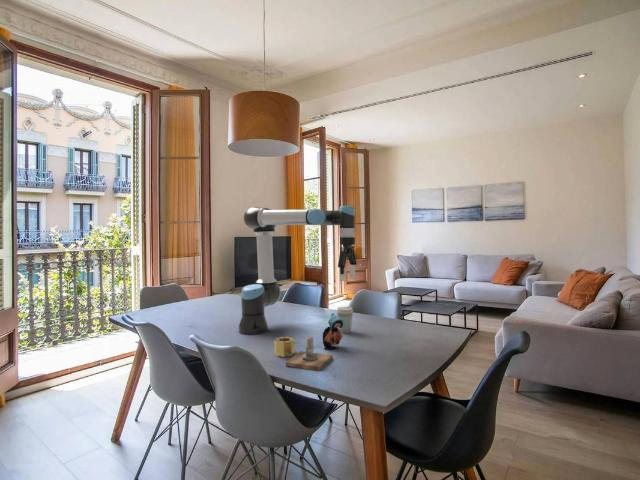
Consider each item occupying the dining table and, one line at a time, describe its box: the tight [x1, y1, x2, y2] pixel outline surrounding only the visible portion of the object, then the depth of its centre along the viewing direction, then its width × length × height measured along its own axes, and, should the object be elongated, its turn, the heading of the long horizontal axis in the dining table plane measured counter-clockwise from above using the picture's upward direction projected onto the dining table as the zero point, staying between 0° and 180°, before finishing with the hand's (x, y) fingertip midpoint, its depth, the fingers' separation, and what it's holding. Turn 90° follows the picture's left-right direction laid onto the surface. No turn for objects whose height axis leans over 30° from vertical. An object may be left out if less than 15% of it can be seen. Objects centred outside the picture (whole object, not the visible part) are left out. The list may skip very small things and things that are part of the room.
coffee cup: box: [336, 306, 354, 334], centre depth 190 cm, size 8×8×12 cm
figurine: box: [321, 313, 343, 351], centre depth 164 cm, size 10×7×15 cm
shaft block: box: [285, 336, 333, 372], centre depth 146 cm, size 14×14×10 cm
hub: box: [273, 336, 296, 358], centre depth 157 cm, size 8×8×6 cm
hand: (347, 279), depth 187 cm, fingers open, 13 cm apart
